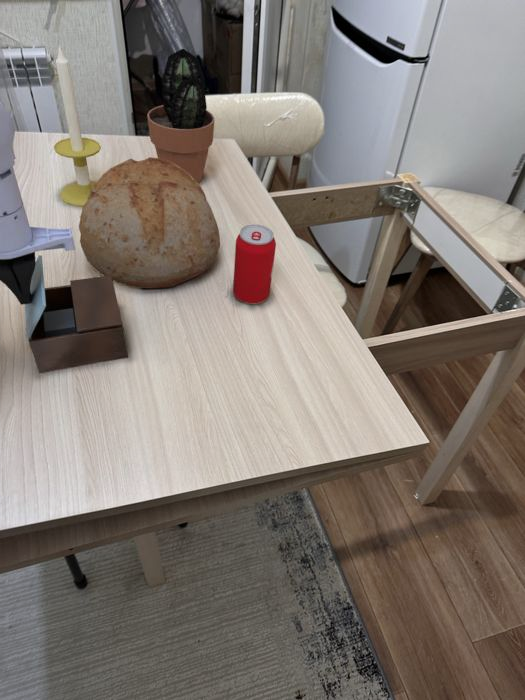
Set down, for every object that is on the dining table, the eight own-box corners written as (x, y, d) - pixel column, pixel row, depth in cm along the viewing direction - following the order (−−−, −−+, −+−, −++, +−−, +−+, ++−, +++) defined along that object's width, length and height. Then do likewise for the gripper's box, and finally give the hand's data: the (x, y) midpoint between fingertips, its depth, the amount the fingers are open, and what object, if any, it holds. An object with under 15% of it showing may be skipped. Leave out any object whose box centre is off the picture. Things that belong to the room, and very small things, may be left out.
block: (50, 351, 68) (44, 331, 65) (49, 332, 71) (43, 312, 68) (80, 346, 69) (75, 326, 67) (77, 328, 72) (73, 307, 69)
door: (29, 338, 61) (26, 338, 61) (27, 287, 68) (24, 286, 68) (46, 306, 59) (42, 305, 59) (42, 255, 66) (39, 254, 65)
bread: (84, 213, 94) (70, 136, 84) (203, 208, 100) (204, 135, 89) (84, 300, 77) (66, 216, 66) (228, 288, 83) (233, 209, 72)
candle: (85, 212, 95) (56, 57, 76) (49, 195, 98) (13, 42, 79) (121, 193, 101) (103, 45, 82) (86, 177, 104) (61, 32, 85)
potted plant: (138, 178, 106) (126, 49, 89) (176, 157, 115) (172, 36, 97) (189, 198, 102) (188, 67, 85) (224, 175, 111) (229, 52, 93)
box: (39, 373, 66) (27, 338, 61) (36, 321, 73) (25, 285, 68) (127, 357, 69) (122, 323, 65) (117, 309, 76) (111, 274, 72)
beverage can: (270, 286, 84) (279, 225, 76) (267, 309, 80) (275, 247, 71) (235, 281, 84) (239, 220, 76) (229, 304, 80) (233, 241, 71)
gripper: (61, 182, 58) (81, 273, 68) (-77, 192, 54) (-35, 288, 64) (66, 212, 54) (86, 305, 64) (-84, 226, 50) (-38, 323, 59)
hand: (26, 299), depth 63 cm, fingers closed
